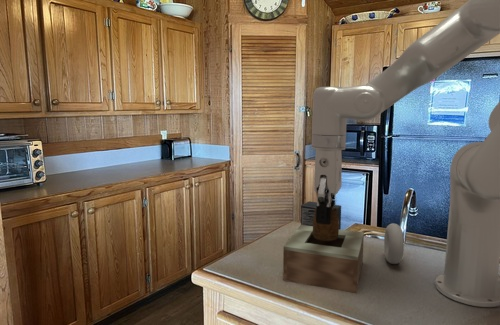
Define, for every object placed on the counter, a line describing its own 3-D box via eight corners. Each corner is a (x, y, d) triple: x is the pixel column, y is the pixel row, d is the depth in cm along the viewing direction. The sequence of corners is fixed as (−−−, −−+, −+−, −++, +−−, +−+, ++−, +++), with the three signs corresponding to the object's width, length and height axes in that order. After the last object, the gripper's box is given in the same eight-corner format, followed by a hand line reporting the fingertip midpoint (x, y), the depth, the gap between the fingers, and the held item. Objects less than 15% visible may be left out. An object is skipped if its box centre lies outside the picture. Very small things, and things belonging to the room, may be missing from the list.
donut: (404, 271, 85) (406, 231, 84) (388, 270, 86) (390, 230, 84) (395, 255, 95) (398, 218, 93) (382, 254, 96) (384, 217, 94)
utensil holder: (323, 243, 80) (325, 191, 79) (306, 235, 86) (308, 186, 84) (343, 239, 83) (346, 188, 81) (325, 231, 89) (327, 183, 87)
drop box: (362, 262, 90) (363, 232, 89) (356, 292, 76) (357, 256, 74) (300, 253, 96) (300, 224, 95) (283, 279, 81) (283, 246, 80)
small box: (341, 239, 107) (342, 204, 105) (334, 246, 101) (335, 210, 100) (308, 232, 112) (309, 200, 111) (299, 239, 107) (300, 204, 105)
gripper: (340, 147, 72) (336, 233, 75) (349, 139, 88) (346, 211, 90) (303, 145, 75) (301, 228, 77) (319, 138, 90) (317, 208, 93)
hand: (325, 218), depth 84 cm, fingers closed on utensil holder, 5 cm apart
